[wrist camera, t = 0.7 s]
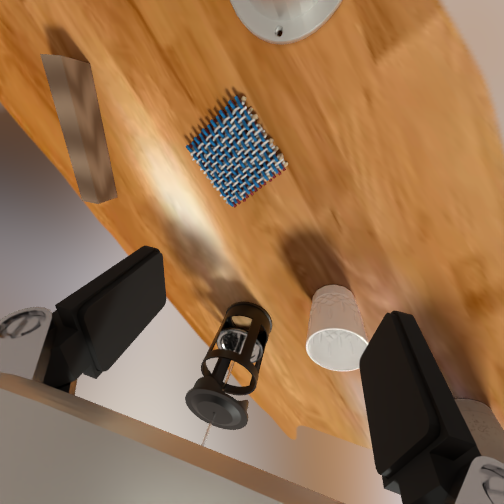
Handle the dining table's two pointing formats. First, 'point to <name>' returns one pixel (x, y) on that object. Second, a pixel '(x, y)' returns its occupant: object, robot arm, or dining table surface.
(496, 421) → the thermos bottle
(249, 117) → the woven mat
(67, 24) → the dining table surface
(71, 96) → the bar
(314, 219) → the dining table surface
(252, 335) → the french press
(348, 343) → the white cup
